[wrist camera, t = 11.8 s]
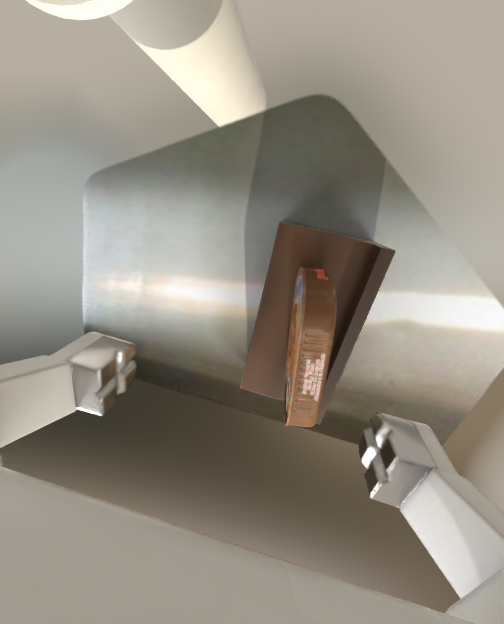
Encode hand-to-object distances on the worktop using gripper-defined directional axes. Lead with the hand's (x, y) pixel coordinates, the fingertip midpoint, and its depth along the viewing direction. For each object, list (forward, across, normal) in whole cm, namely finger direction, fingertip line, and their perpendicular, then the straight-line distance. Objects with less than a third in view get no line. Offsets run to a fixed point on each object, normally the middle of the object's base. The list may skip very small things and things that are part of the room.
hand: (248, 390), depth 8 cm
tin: (+18, -4, +6) cm, 19 cm away
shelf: (+23, -4, +6) cm, 24 cm away
